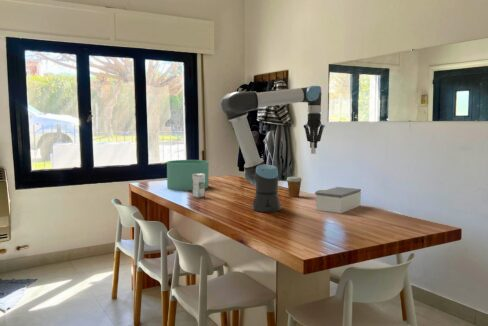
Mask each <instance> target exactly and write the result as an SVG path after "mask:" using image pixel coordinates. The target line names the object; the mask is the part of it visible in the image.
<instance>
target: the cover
mask: <svg viewBox="0 0 488 326" xmlns="http://www.w3.org/2000/svg"><path fill="white" fill-rule="evenodd" d="M357 192H362V189H361V188H353V187H341V186H336V187H332V188H328V189H324V190H322V191H321V190H320V191H317V192H315V194H316V195H323V196H332V197H344V196H347V195H350V194H353V193H357ZM316 195H315V196H316Z"/></svg>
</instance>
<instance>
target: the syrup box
mask: <svg viewBox="0 0 488 326" xmlns="http://www.w3.org/2000/svg"><path fill="white" fill-rule="evenodd" d="M191 191H192V192H191V193H192V195H191V197H192V198H197V199H199V198H204V197H205V196H206V193H205V192H206V189H205V174H203V173H197V174H192V190H191Z"/></svg>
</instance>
